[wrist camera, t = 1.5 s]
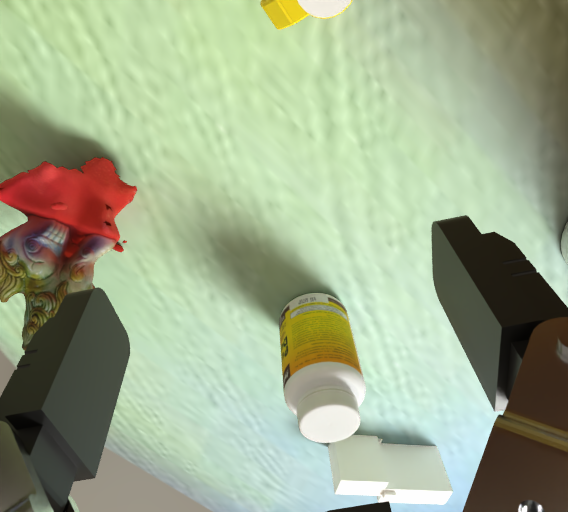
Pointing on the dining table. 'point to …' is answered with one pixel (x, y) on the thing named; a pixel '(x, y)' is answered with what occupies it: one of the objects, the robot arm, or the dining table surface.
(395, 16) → the dining table surface
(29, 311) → the figurine
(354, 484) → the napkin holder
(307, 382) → the supplement bottle
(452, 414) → the dining table surface
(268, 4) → the watch
